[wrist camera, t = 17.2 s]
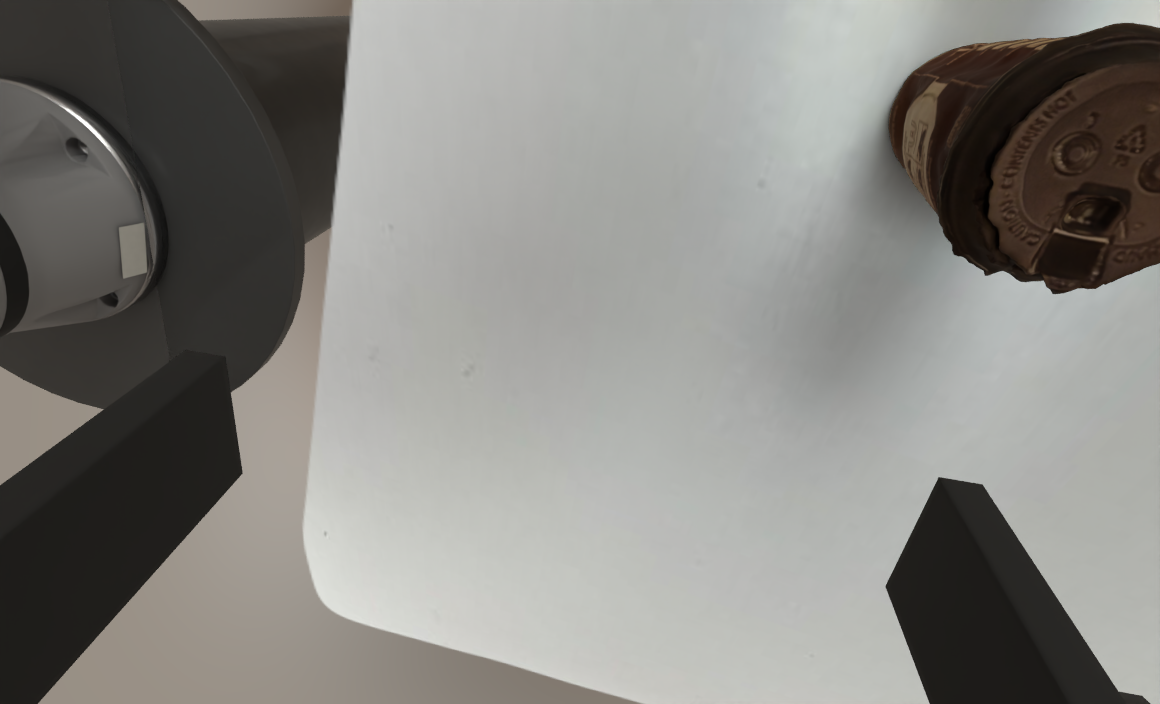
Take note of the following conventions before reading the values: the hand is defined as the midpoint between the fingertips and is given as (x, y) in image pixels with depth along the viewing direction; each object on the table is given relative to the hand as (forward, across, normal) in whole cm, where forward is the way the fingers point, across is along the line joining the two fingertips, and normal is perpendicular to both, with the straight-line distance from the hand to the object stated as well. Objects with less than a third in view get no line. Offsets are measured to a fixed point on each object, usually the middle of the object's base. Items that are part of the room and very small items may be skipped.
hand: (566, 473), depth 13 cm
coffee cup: (+25, +15, +5) cm, 30 cm away
